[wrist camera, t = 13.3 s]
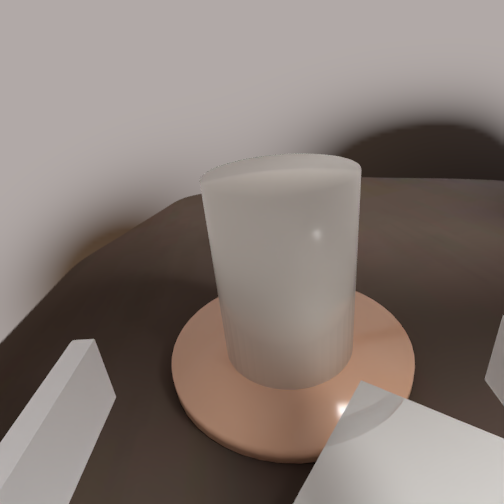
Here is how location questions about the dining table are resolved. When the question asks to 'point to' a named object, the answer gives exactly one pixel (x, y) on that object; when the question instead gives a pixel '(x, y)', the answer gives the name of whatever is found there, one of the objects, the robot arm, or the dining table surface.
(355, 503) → the white square pad
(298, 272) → the white pillar candle
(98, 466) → the dining table surface
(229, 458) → the dining table surface
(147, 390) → the dining table surface
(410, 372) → the peach round disc
